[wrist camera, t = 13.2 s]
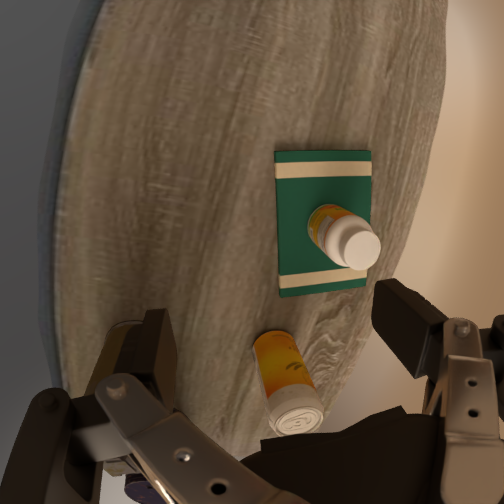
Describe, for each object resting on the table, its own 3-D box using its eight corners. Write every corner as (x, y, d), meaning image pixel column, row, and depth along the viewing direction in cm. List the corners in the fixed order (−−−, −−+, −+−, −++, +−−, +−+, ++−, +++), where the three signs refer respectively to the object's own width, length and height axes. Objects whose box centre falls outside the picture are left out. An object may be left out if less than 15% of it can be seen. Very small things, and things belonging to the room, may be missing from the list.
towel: (273, 151, 35) (275, 151, 34) (367, 150, 36) (371, 150, 35) (278, 294, 41) (280, 298, 40) (362, 283, 42) (365, 286, 41)
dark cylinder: (198, 437, 49) (201, 507, 35) (147, 442, 48) (141, 509, 34) (181, 401, 45) (179, 479, 31) (125, 407, 44) (111, 480, 30)
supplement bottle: (354, 214, 38) (396, 237, 29) (334, 252, 39) (369, 285, 30) (319, 195, 36) (355, 213, 27) (298, 235, 38) (327, 265, 29)
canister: (154, 310, 39) (125, 429, 21) (188, 367, 43) (186, 486, 24) (89, 333, 39) (40, 441, 21) (126, 385, 43) (103, 494, 24)
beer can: (296, 355, 45) (328, 430, 31) (256, 366, 44) (275, 445, 30) (290, 322, 43) (324, 397, 29) (246, 334, 42) (265, 414, 28)
